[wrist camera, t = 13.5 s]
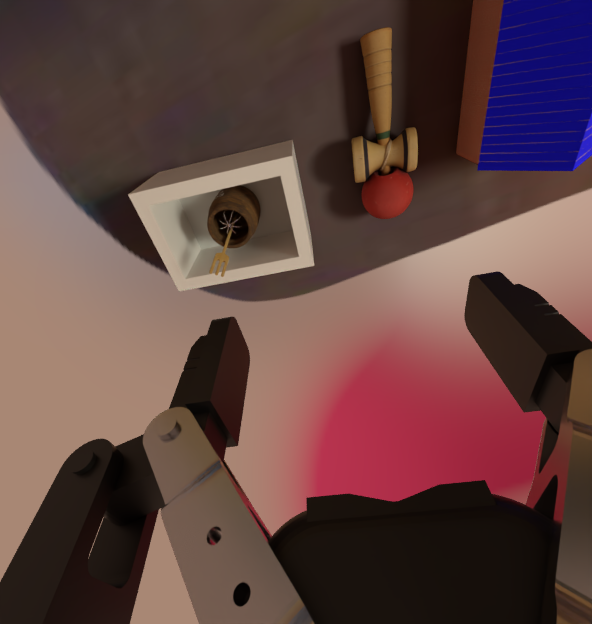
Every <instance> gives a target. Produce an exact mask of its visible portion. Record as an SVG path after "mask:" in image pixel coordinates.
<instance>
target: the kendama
mask: <svg viewBox="0 0 592 624" xmlns="http://www.w3.org/2000/svg"><path fill="white" fill-rule="evenodd" d="M360 42H361V48H362V53H363V57H364V66H365V72H366V79H367V87H368V90H369V91H368V94H369V101H370V108H371V113H372V119H373V123H374V128H375V132H376V137H377V142H378V143H373V142H370V141H368V140H366V139H365V138H363V137H362V136H359V137H356V138H352V153H353V165H354V175H355V182H356V183H359V182H365V183H364V185H363V188H362V202H363V205H364V207H365V209H366V210H367V211H368V212H369V213H370V214H371V215H372V216H374V217H376V218H380V219H389V218H393V217H396V216H398V215H400V214H401V213H402V212H404V211H405V210H406V208H407V207H408V206H409V204H410V202H411V200H412V196H413V183H412V180H411V178H410V176H409V175H408V173H407V172H410V171H414V170H415V169H416V167H417V161H418V139H417V132H416V129H415V128H414V127H411V128H406V129H405V130H404V131H403V132H402V133H401V134H400V135H399V136H398V137H397V138H395V139H394V140H392V139H390V125H391V107H392V86H391V83H392V78H391V46H392V29H391V28H388V27H386V28H380V29H377V30H374V31H371V32H369V33H367V34H365V35H364V36H362V38H361V39H360Z"/></svg>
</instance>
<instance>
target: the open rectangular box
mask: <svg viewBox="0 0 592 624" xmlns="http://www.w3.org/2000/svg"><path fill="white" fill-rule="evenodd" d="M238 185H241V186H244V187H246V188H248V189H250V190H251V191H252V192H253V193H254V194H255V195H256V197H257V198H258V201H259V203H260V209H261V213H260V219H259V223H258V227H257V229H256V231H255V233H254V234H253V236H252V237H251V238H250V240H249V241H248V242H247V243H246V244H245V245H243V246H241V247H239V248H227V249H226V252H225V254H226V255H227V256H229V261H228V264H227V267H226V271H225V274H224V277H221V273H222V270H223V267H224V264H225V262H222V264H221V267H220V270H219V273H218V275H215V272H216V269H217V266H218V263H219V261H218V260H217V261H216V264H215V266H214V269H213V272H212V274H210V273H209V271H210V268H211V266H212V263H213V260H214V257H215V254H216V253H222V251H223V248H224V247H223V246H221V245H219V244H218V243H216V242H215V241H214V240H213V239H212V237H211V236H210V234H209V231H208V228H207V220H208V213H209V208H210V206H211V204H212V202H213V200H214V199H215V197H216V196H217V194H218V193H219V192H220V191H221V190H222V189H225V188H229V187H234V186H238ZM128 196H129V198H130V199H131V201H132V203H133V205H134V207H135V209H136V211H137V213H138V215H139V217H140V218H141V220H142V222H143V224H144V226H145V228H146V230H147V232H148V234H149V236H150V237H151V239H152V241H153V243H154V245H155V247H156V249H157V251H158V253H159V254H160V256H161V258H162V260H163V262H164V264H165V266H166V268H167V270H168V272H169V273H170V275H171V277H172V279H173V281H174V283H175V285H176V286H177V288H178V291H184V290H189V289H195V288H200V287H205V286H210V285H216V284H221V283H226V282H231V281H236V280H242V279H247V278H252V277H257V276H263V275H268V274H273V273H278V272H284V271H289V270H294V269H299V268H304V267H310V266H314V259H313V249H312V240H311V233H310V227H309V222H308V217H307V212H306V207H305V202H304V197H303V192H302V186H301V181H300V176H299V171H298V166H297V161H296V156H295V151H294V146H293V140H289V141H285V142H281V143H277V144H273V145H269V146H265V147H260V148H256V149H252V150H248V151H244V152H240V153H236V154H232V155H227V156H223V157H219V158H215V159H211V160H207V161H203V162H199V163H194V164H190V165H186V166H182V167H178V168H174V169H170V170H166V171H162V172H158V173H157V174H155V175H154V176H153V177H151V178H150V179H148V180H147V181H146V182H144V183H143V184H142V185H140V186H139V187H138V188H136V189H135V190H133V191H132V192H131V193H129V194H128Z"/></svg>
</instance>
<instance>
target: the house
mask: <svg viewBox="0 0 592 624" xmlns="http://www.w3.org/2000/svg"><path fill="white" fill-rule="evenodd" d="M456 154H457V155H459V156H461V157H463V158H465V159H467V160H469V161H471V162H473V163H476V164H478V170H507V171H573V170H574V169H576V168H577V167H578V166H579V165H580V164H582V163H583V162H584V161H585V160H586V159H588V158H589V157H590V156H591V155H592V0H473V7H472V16H471V25H470V34H469V43H468V52H467V60H466V69H465V78H464V87H463V96H462V105H461V113H460V122H459V131H458V140H457V149H456Z"/></svg>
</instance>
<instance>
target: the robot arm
mask: <svg viewBox="0 0 592 624" xmlns="http://www.w3.org/2000/svg"><path fill="white" fill-rule="evenodd" d="M465 322H466V326H467V328H468V330H469V332H470V333H471V335H472V336H473V338H474V339H475V341H476V342H477V343H478V345H479V347H480V348H481V349H482V351H483V353H484V354H485V356H486V357H487V358H488V360H489V361H490V363H491V364H492V366H493V367H494V369H495V370H496V372H497V373H498V375H499V376H500V378H501V379H502V381H503V382H504V384H505V385H506V387H507V388H508V390H509V391H510V393H511V394H512V395H513V397H514V398H515V400H516V401H517V403H518V404H519V406H520V407H521V409H522V410H523V412H532V411H540V410H541V411H542V412H543V414H544V415H545V416H546V419H545V422H544V424H543V430H542V436H541V441H540V446H539V451H538V457H537V462H536V468H535V473H534V479H533V483H532V486H531V489H530V492H529V495H528V498H527V501H526V505H524V504H522V503H520V502H517V501H515V500H512V499H509V498H506V497H503V496H499V495H495V494H491V492H490V490H489V488H488V486H487V484H486V482H485V480H482V481H472V482H462V483H452V484H441V485H437V486H435V487H433V488H430V489H427V490H425V491H422V492H420V493H418V494H415V495H413V496H410V497H408V498H406V499H403V500H400V501H396V502H392V501H386V500H380V499H375V498H369V497H364V496H358V495H353V494H340V495H330V496H320V497H311V498H307V511H304V512H302V513H300V514H298V515H296V516H295V517H293V518H292V519H290V520H289V521H288V522H286V523H285V524H284V525H283V526H281V527H280V528H279V530H277V531H276V533H274V535H273V536H272V535H271V534H270V532H269V531H268V529H267V528H266V526H265V524H264V523H263V521H262V520H261V518H260V517H259V515H258V514H257V512H256V511H255V509H254V507H253V506H252V504H251V502H250V501H249V499H248V498H247V496H246V494H245V493H244V491H243V489H242V488H241V486H240V485H239V483H238V481H237V480H236V478H235V476H234V475H233V474H232V472H231V470H230V468H229V467H228V465H227V464H226V462H225V460H224V455H225V450H226V447H233V446H238V441H239V434H240V427H241V420H242V414H243V407H244V399H245V393H246V386H247V379H248V372H249V365H250V355H249V350H248V347H247V344H246V342H245V339H244V337H243V335H242V332H241V330H240V328H239V325H238V323H237V320H236V319H235V318H234V317H228V318H222V319H216V320H212V322H211V325H210V328H209V330H208V334H207V335H206V336H201V337H200V338H199V339H198V340H197V341H196V342H195V344H194V345H193V346H192V347H191V350H190V353H189V355H188V358H187V362H186V364H185V366H184V371H183V372H182V375H181V377H180V380H179V383H178V386H177V388H176V391H175V394H174V397H173V400H172V402H171V405H170V407H169V409H168V410H166V411H164V412H162V413H160V414H159V415H158V416H157V417H156V418H154V419H153V420H152V421H151V423H150V424H149V425H148V427H147V429H146V430H145V433H144V434H143V435H141V436H139V437H137V438H134V439H132V440H130V441H127V442H125V443H123V444H120V445H118V446H116V447H115V446H114V445H113V444H112V443H110V442H109V441H108V440H106V439H96V440H93V441H90V442H88V443H86V444H84V445H82V446H81V447H79V448H78V449H77V450H75V451H74V452H73V453H72V454H71V455H70V456H69V457H68V459H67V460H66V461H65V462H64V464H63V465H62V467H61V469H60V471H59V473H58V474H57V476H56V478H55V480H54V482H53V484H52V486H51V488H50V489H49V491H48V493H47V495H46V497H45V499H44V501H43V503H42V504H41V506H40V508H39V510H38V512H37V514H36V516H35V518H34V520H33V522H32V523H31V525H30V527H29V529H28V531H27V533H26V535H25V536H24V538H23V540H22V542H21V544H20V546H19V548H18V550H17V551H16V553H15V555H14V557H13V559H12V561H11V563H10V565H9V567H8V568H7V570H6V572H5V574H4V576H3V578H2V580H1V582H0V624H130V620H131V616H132V612H133V608H134V604H135V600H136V596H137V593H138V588H139V584H140V581H141V577H142V573H143V569H144V565H145V561H146V557H147V553H148V549H149V545H150V542H151V537H152V533H153V530H154V526H155V522H156V518H157V514H158V510H159V509H160V508H162V509H161V516H162V520H163V523H164V526H165V528H166V531H167V534H168V537H169V540H170V543H171V545H172V548H173V551H174V554H175V557H176V560H177V562H178V565H179V568H180V571H181V574H182V577H183V579H184V582H185V585H186V588H187V591H188V593H189V596H190V599H191V602H192V605H193V608H194V610H195V613H196V616H197V619H198V622H199V624H592V342H591V341H590V340H589V339H588V338H587V337H586V336H585V335H583V334H582V333H581V332H580V331H579V330H578V329H577V328H576V327H575V326H574V325H572V324H571V323H570V322H569V321H568V320H567V319H566V318H565V317H564V316H563V315H561V314H559V313H558V311H557V310H556V309H555V308H554V307H553V306H552V305H549V304H548V302H547V301H546V300H545V299H544V298H543V297H542V296H541V295H539V294H538V293H537V292H535V291H534V290H531V289H529V288H527V287H525V286H523V285H521V284H515V285H514V284H512V282H510V281H509V280H508V279H507V278H506V277H505V276H504V275H503V274H502V273H501V272H493V273H486V274H481V275H475V276H472V277H471V279H470V282H469V288H468V294H467V301H466V307H465ZM103 517H104V519H103V522H102V524H101V521H102V518H103ZM100 524H101V527H100ZM99 527H100V529H99ZM98 529H99V532H98ZM97 532H98V535H97ZM96 535H97V537H96ZM95 537H96V540H95ZM94 540H95V543H94ZM93 543H94V546H93V548H92V545H93ZM91 548H92V551H91ZM90 551H91V553H90ZM89 553H90V556H89ZM88 557H89V559H88Z"/></svg>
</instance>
